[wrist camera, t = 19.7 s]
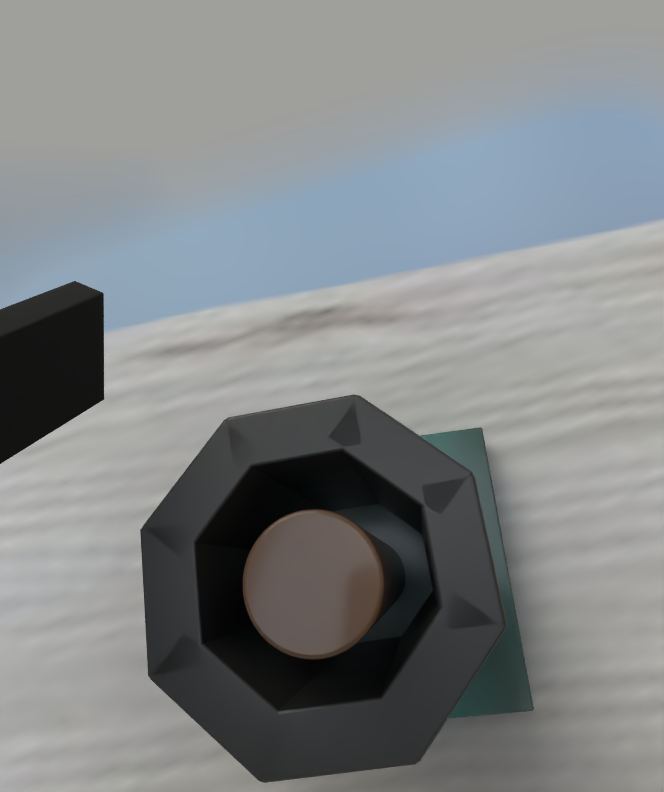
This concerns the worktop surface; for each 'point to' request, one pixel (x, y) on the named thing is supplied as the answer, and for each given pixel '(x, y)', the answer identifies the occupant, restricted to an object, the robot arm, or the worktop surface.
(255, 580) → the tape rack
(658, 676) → the worktop surface
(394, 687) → the grey octagonal sleeve
